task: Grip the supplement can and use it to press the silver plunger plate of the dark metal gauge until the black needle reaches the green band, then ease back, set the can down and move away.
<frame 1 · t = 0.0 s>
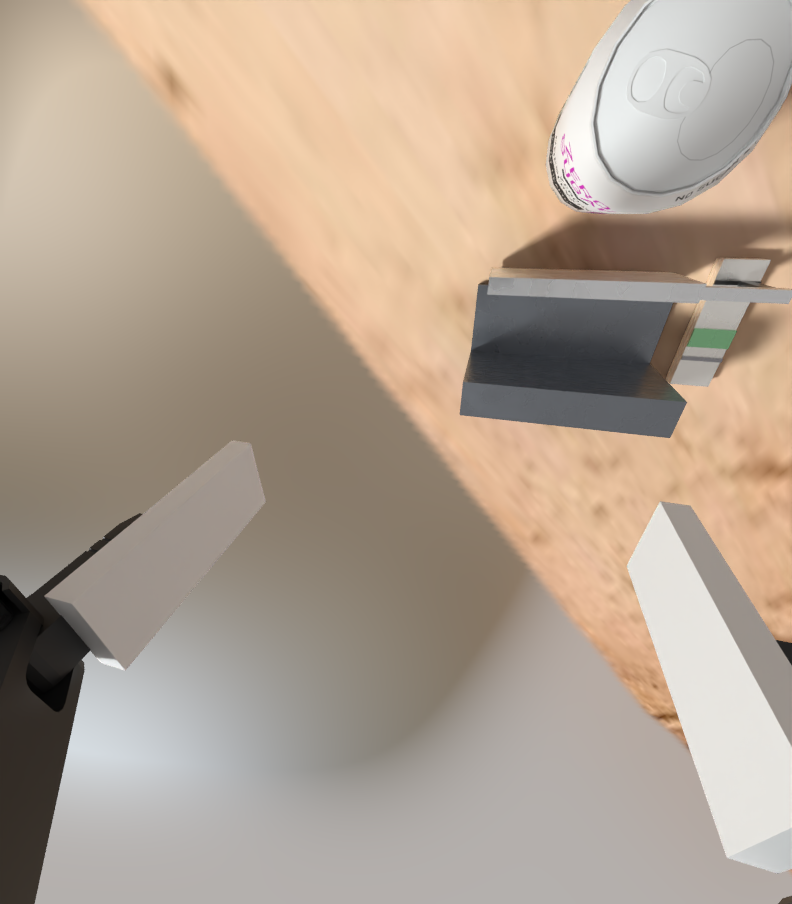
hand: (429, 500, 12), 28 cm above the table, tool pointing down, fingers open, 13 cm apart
gauge housing: (561, 328, 34), on the table
gauge plunger: (617, 284, 28), point 4 cm above the table, slide at 0.0 cm
supplement can: (604, 147, 27), on the table
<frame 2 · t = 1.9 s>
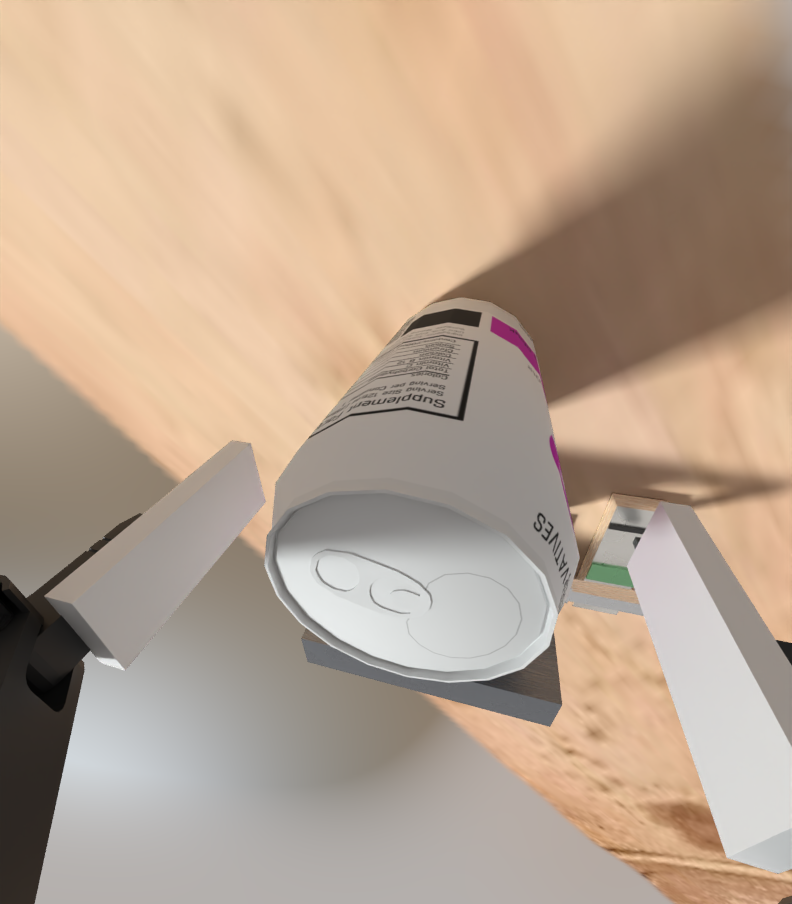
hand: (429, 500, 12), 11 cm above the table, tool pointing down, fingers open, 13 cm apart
gauge housing: (444, 533, 28), on the table
gauge plunger: (482, 537, 22), point 4 cm above the table, slide at 0.0 cm
supplement can: (460, 370, 21), on the table
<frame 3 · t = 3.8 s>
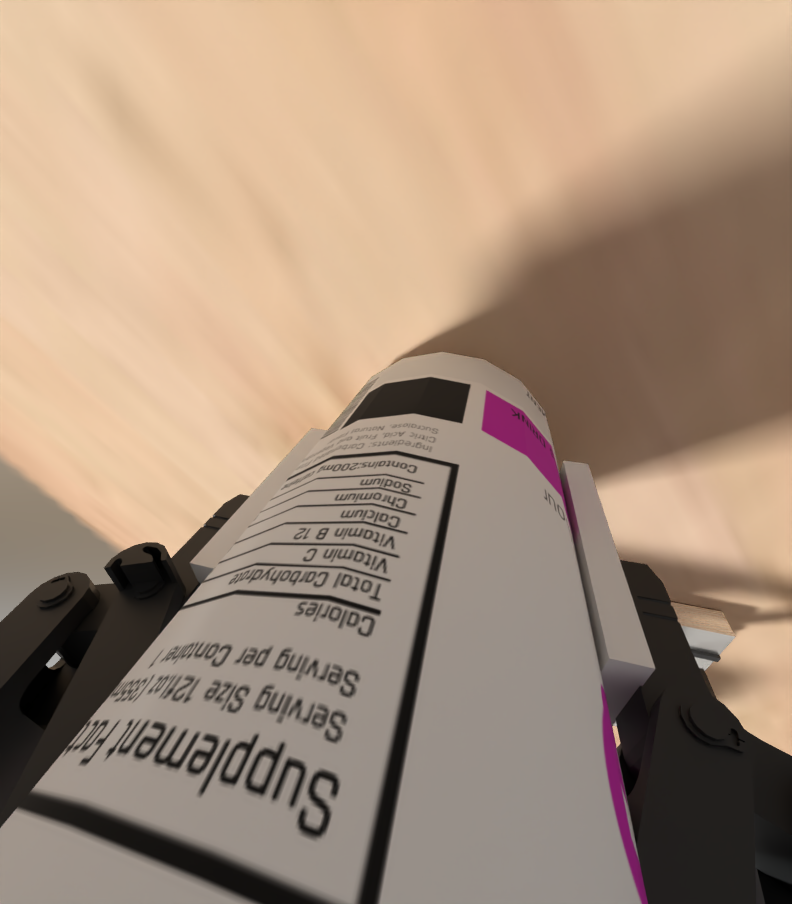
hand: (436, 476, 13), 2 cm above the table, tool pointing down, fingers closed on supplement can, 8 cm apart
gauge housing: (430, 623, 22), on the table
gauge plunger: (475, 660, 16), point 4 cm above the table, slide at 0.0 cm
supplement can: (445, 441, 15), on the table, touching gripper
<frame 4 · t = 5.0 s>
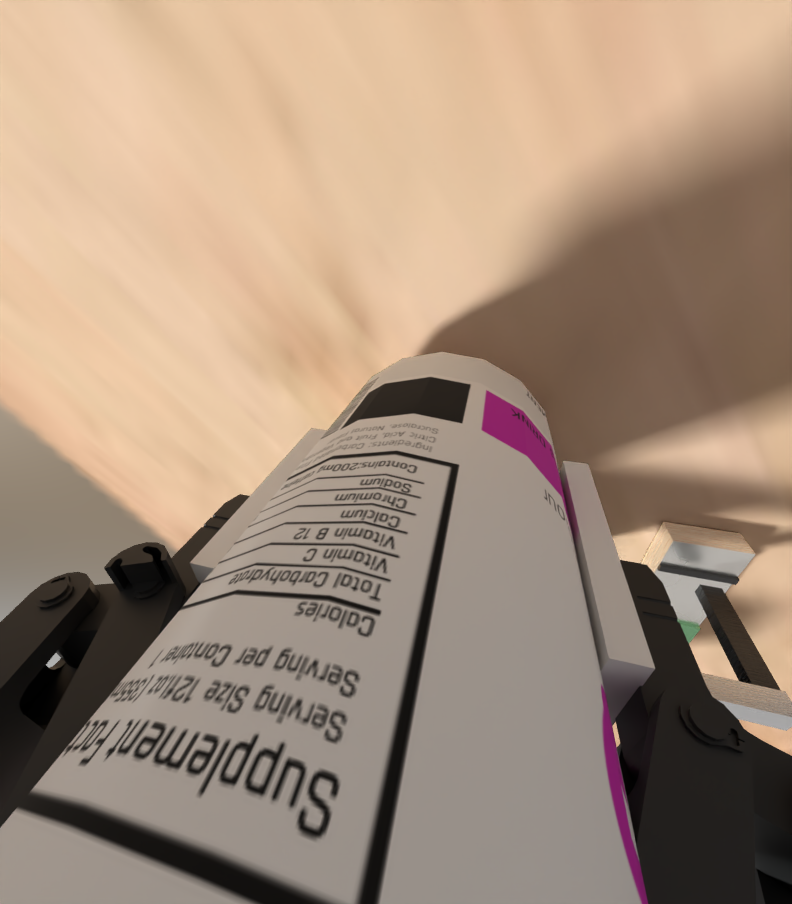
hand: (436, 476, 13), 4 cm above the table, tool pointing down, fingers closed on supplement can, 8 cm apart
gauge housing: (436, 566, 22), on the table
gauge plunger: (485, 582, 16), point 4 cm above the table, slide at 0.0 cm
supplement can: (445, 441, 15), point 1 cm above the table, touching gripper
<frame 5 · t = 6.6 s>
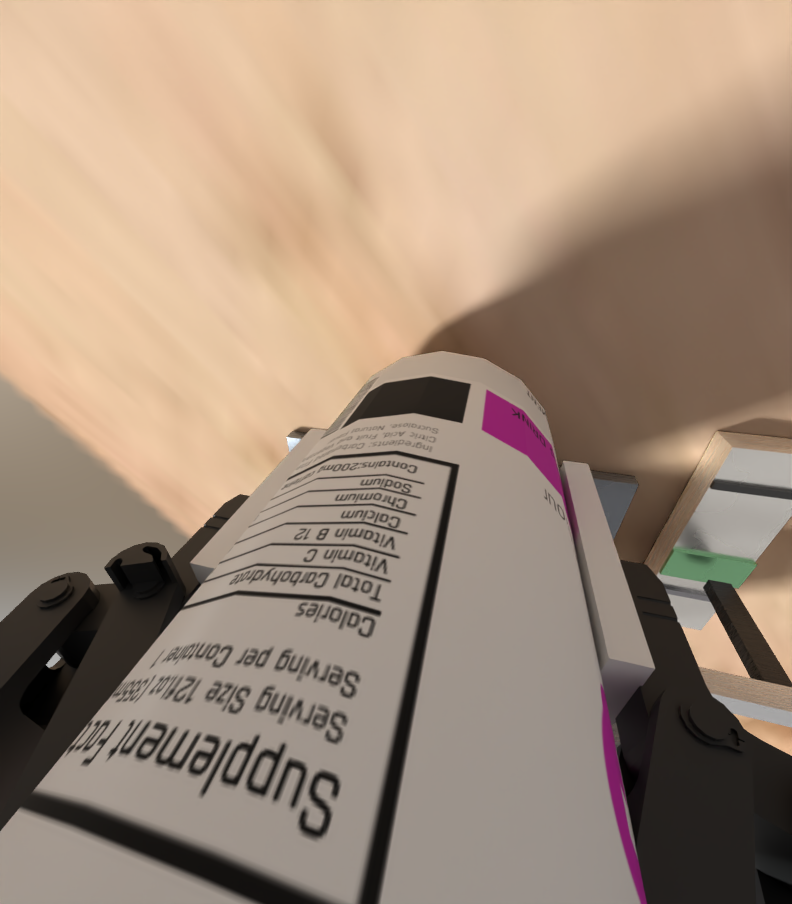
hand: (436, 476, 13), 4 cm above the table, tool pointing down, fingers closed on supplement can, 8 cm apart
gauge housing: (442, 507, 19), on the table
gauge plunger: (488, 578, 15), point 4 cm above the table, slide at 4.3 cm
supplement can: (445, 440, 15), point 1 cm above the table, touching gripper
when the fingers open (3 cm above the table, at t = 8.9 s): supplement can stays where it is, on the table.
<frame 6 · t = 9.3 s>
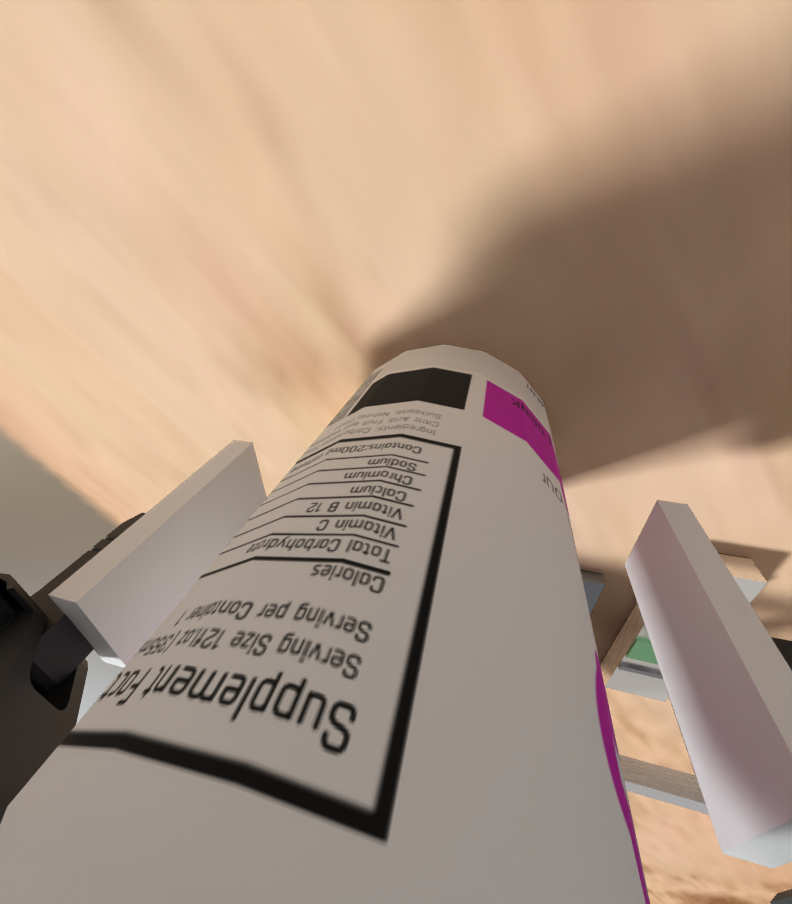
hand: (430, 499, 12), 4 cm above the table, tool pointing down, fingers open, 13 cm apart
gauge housing: (433, 586, 21), on the table
gauge plunger: (472, 665, 17), point 4 cm above the table, slide at 4.3 cm
supplement can: (446, 433, 16), on the table
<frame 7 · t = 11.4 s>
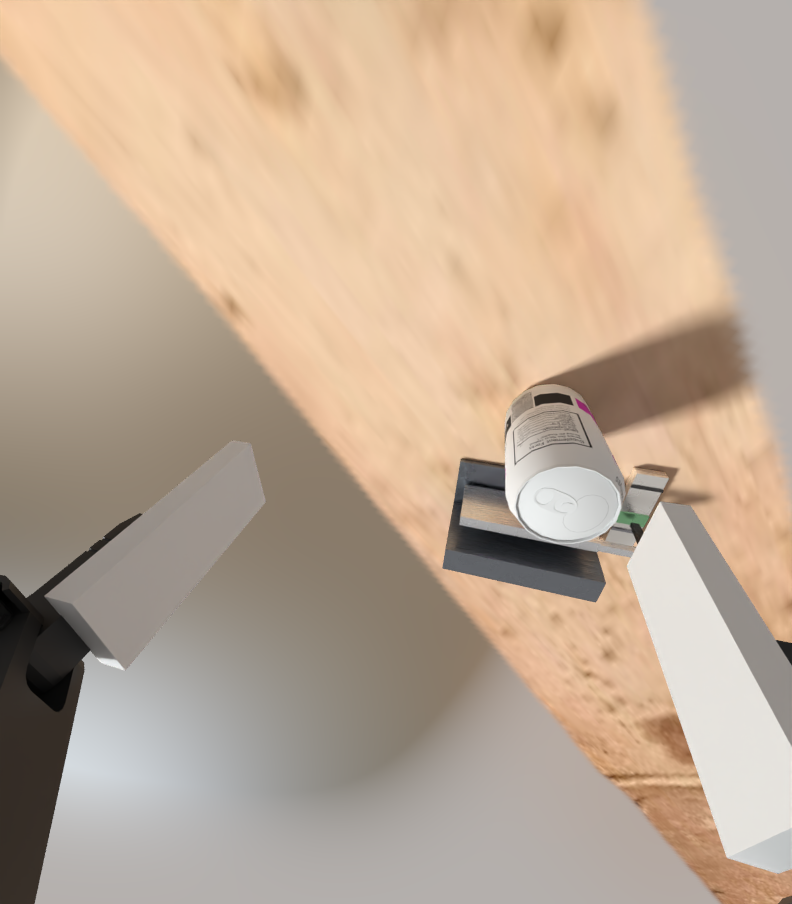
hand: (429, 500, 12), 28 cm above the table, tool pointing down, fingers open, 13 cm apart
gauge housing: (523, 494, 44), on the table
gauge plunger: (549, 519, 40), point 4 cm above the table, slide at 4.3 cm
supplement can: (545, 417, 39), on the table
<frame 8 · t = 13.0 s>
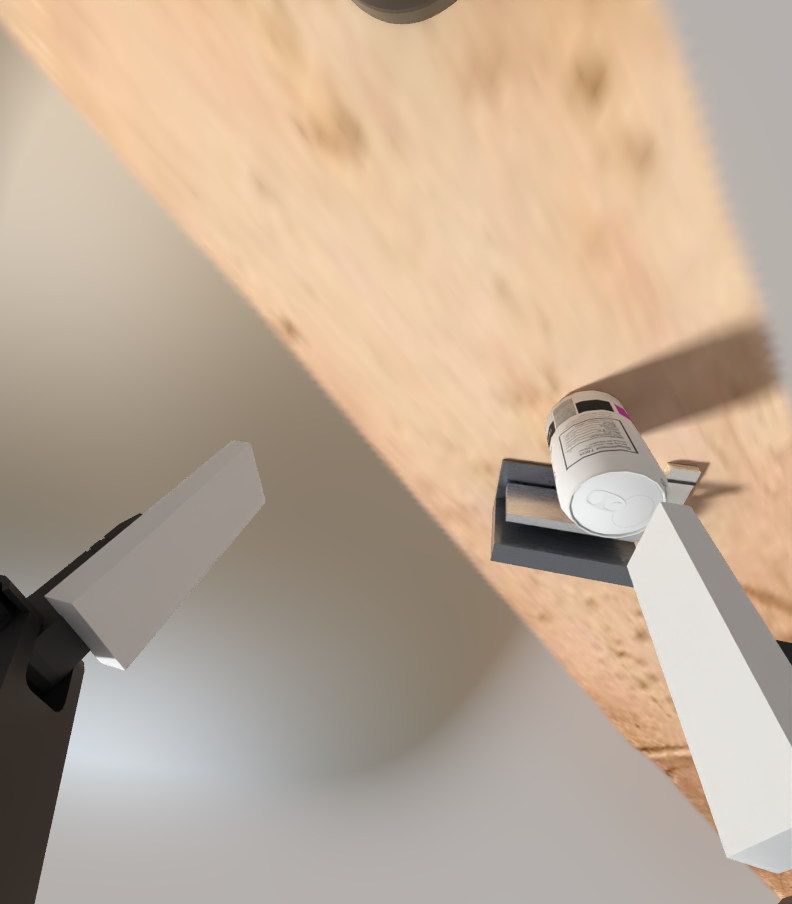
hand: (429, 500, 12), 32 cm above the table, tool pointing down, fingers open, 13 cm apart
gauge housing: (561, 490, 47), on the table
gauge plunger: (588, 513, 44), point 4 cm above the table, slide at 4.3 cm
supplement can: (583, 420, 42), on the table
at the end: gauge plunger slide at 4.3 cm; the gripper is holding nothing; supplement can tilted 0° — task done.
